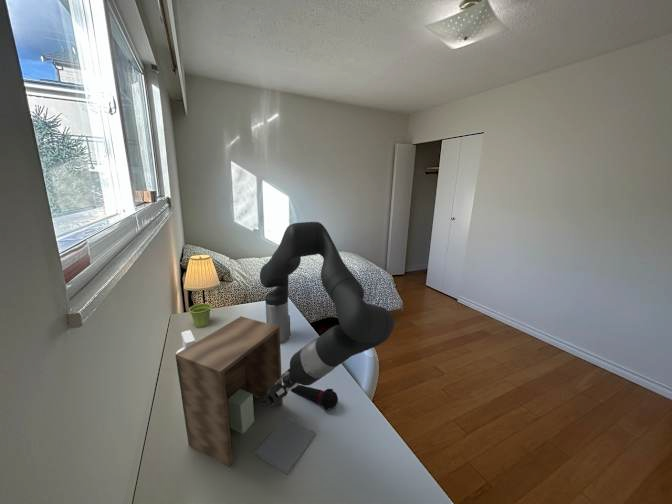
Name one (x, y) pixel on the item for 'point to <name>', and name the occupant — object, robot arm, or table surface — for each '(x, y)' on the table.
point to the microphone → (318, 395)
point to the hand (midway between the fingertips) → (274, 388)
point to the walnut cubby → (225, 380)
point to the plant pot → (200, 314)
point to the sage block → (241, 410)
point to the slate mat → (286, 445)
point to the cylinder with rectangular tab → (186, 340)
